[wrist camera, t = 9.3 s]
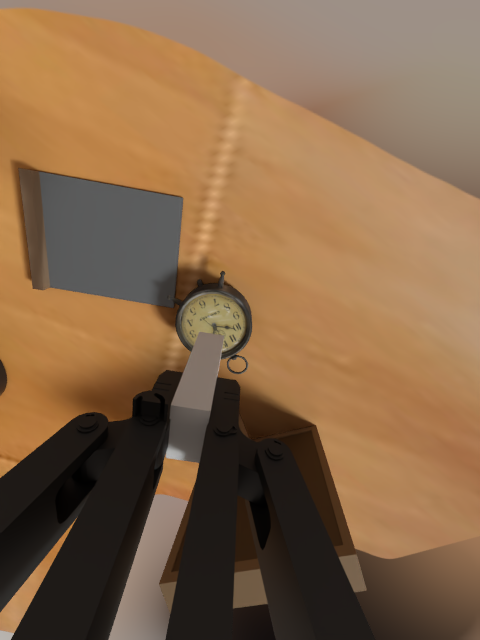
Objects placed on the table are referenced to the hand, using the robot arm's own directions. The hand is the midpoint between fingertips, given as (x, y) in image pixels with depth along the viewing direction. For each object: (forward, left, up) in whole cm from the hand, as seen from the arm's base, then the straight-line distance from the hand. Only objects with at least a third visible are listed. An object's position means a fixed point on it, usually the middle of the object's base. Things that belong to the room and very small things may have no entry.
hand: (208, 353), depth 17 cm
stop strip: (-28, 0, -26) cm, 38 cm away
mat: (-18, 0, -26) cm, 32 cm away
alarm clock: (-5, -2, -24) cm, 25 cm away
